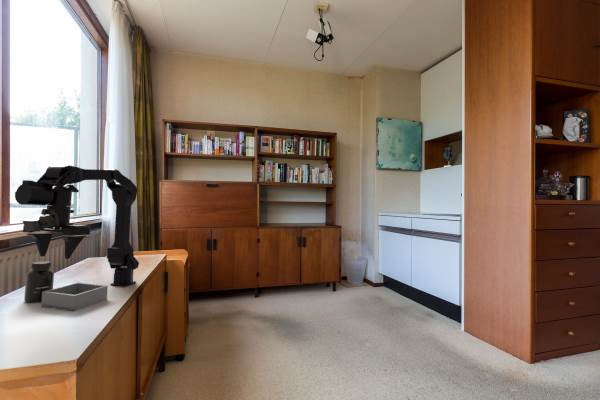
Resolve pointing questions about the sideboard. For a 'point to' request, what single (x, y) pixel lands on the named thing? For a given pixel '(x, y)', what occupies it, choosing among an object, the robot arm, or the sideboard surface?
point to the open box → (74, 296)
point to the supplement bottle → (38, 281)
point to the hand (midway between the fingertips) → (54, 257)
